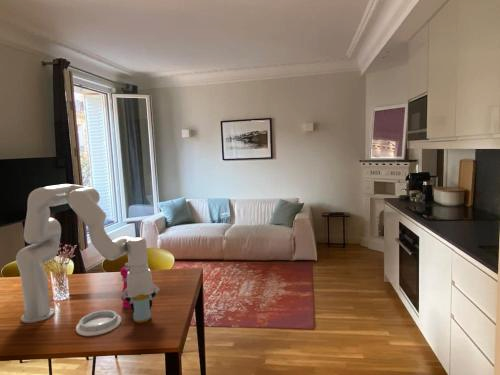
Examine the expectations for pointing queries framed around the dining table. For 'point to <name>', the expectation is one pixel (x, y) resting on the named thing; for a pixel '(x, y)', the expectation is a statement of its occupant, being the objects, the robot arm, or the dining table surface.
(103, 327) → the collar base
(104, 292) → the dining table surface
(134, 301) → the bottle
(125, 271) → the pepper mill
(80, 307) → the dining table surface
